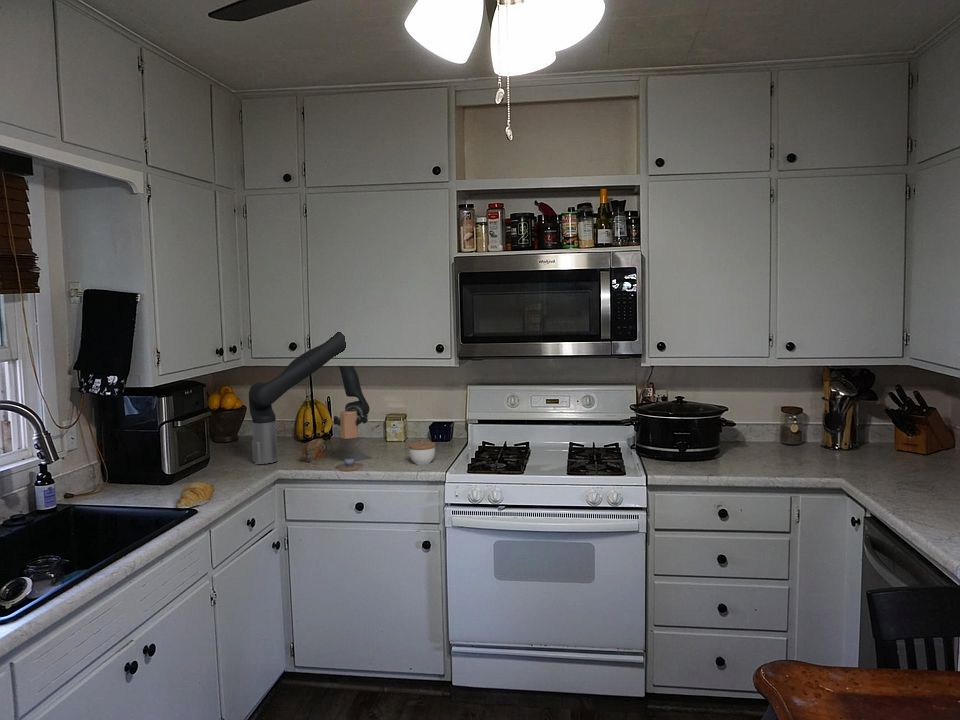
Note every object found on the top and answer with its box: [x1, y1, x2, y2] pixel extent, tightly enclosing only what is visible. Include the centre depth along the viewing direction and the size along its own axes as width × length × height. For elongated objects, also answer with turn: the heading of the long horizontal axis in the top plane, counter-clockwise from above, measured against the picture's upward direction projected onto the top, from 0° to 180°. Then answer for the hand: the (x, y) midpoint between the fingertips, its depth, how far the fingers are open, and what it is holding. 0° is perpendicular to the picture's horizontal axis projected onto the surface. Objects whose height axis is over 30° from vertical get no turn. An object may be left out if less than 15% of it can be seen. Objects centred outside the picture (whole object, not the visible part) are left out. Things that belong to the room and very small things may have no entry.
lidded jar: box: [408, 439, 436, 466], centre depth 277 cm, size 11×11×9 cm
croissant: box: [176, 481, 216, 507], centre depth 231 cm, size 21×10×8 cm, turn 174°
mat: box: [335, 452, 374, 463], centre depth 287 cm, size 12×12×1 cm
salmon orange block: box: [339, 410, 359, 440], centre depth 274 cm, size 6×6×10 cm
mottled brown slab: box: [302, 438, 328, 463], centre depth 287 cm, size 15×3×8 cm, turn 161°
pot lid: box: [334, 458, 364, 472], centre depth 272 cm, size 11×11×3 cm
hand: (348, 423), depth 271 cm, fingers closed on salmon orange block, 6 cm apart
